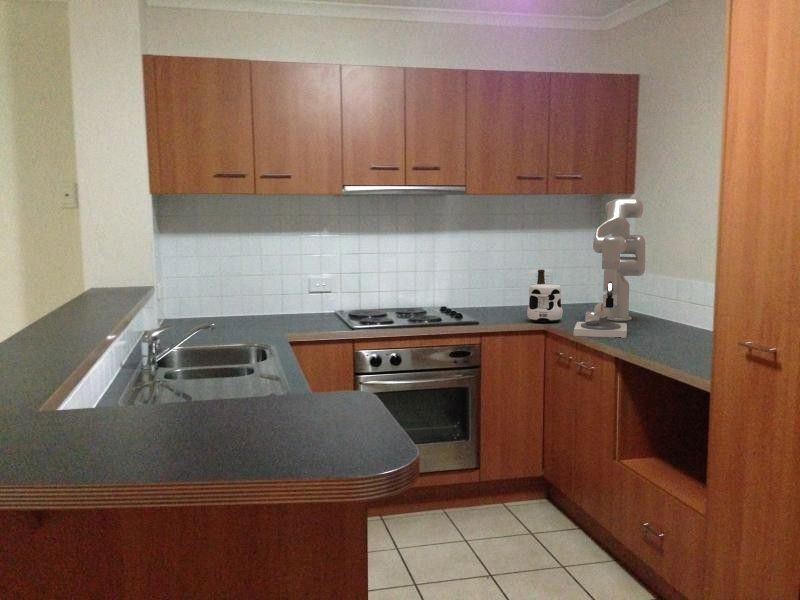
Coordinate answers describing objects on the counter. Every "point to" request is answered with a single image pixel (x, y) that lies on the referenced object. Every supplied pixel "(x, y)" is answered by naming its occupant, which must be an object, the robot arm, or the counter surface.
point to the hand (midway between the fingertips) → (609, 305)
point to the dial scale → (601, 326)
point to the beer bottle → (541, 277)
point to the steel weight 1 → (592, 318)
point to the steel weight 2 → (605, 301)
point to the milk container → (544, 303)
